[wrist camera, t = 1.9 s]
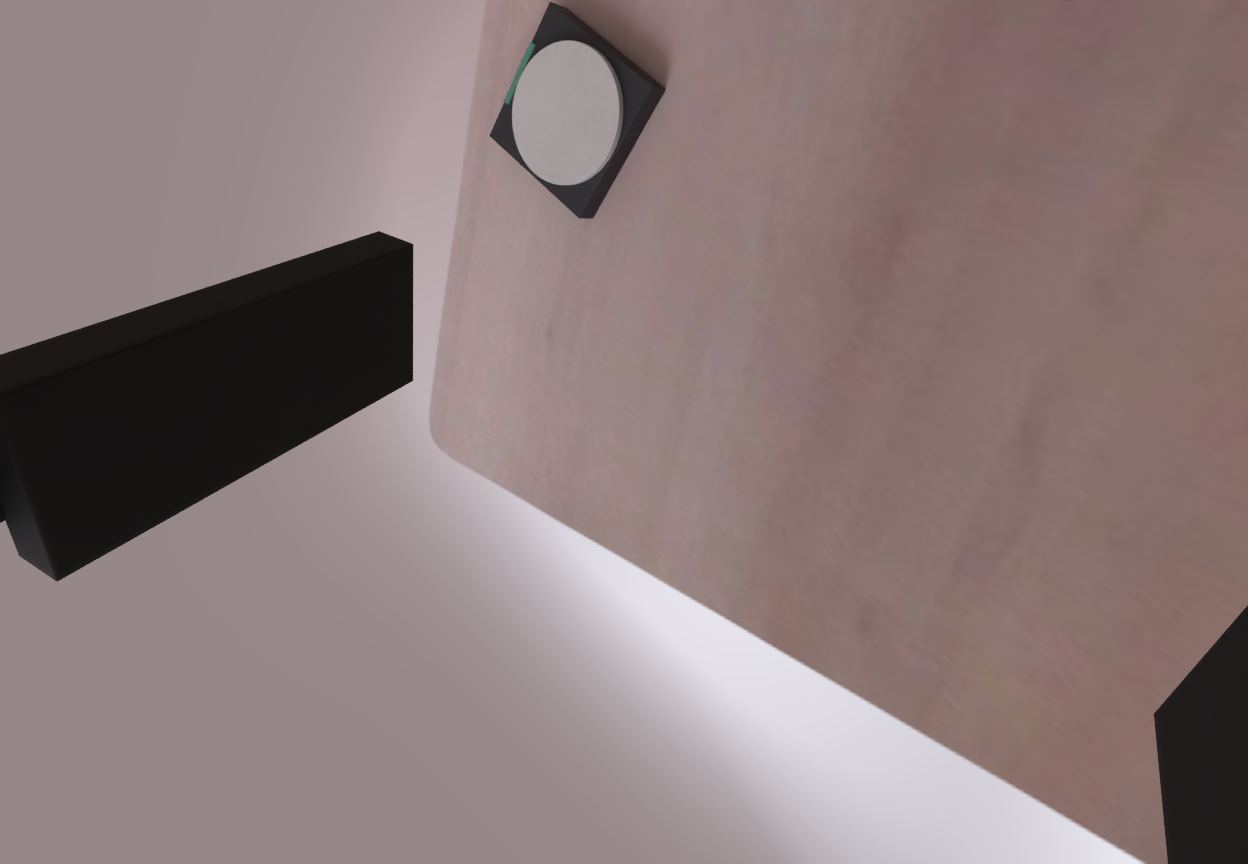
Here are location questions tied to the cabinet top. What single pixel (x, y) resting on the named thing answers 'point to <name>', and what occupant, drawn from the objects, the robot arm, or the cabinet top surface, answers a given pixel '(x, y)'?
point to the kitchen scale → (574, 111)
